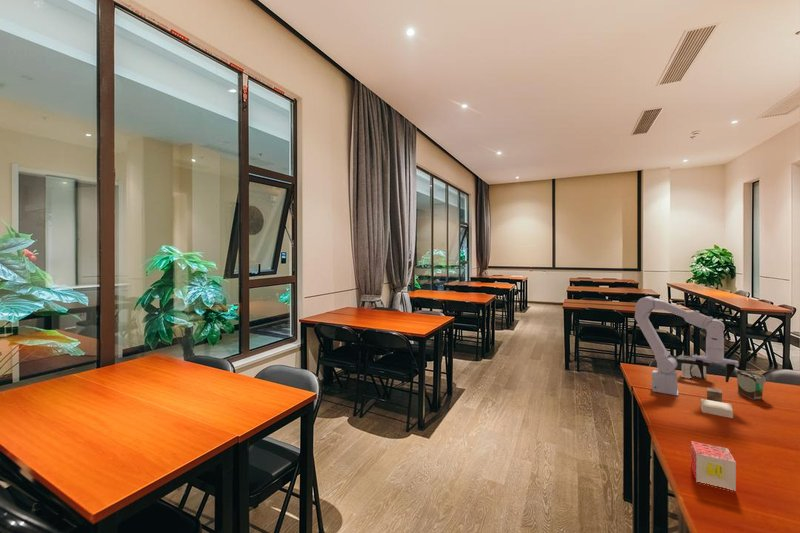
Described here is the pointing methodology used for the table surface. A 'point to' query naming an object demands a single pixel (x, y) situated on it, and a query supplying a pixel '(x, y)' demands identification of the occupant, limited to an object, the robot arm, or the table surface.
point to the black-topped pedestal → (691, 366)
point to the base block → (716, 408)
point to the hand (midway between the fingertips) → (714, 379)
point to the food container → (750, 384)
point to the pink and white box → (713, 465)
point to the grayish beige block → (714, 394)
